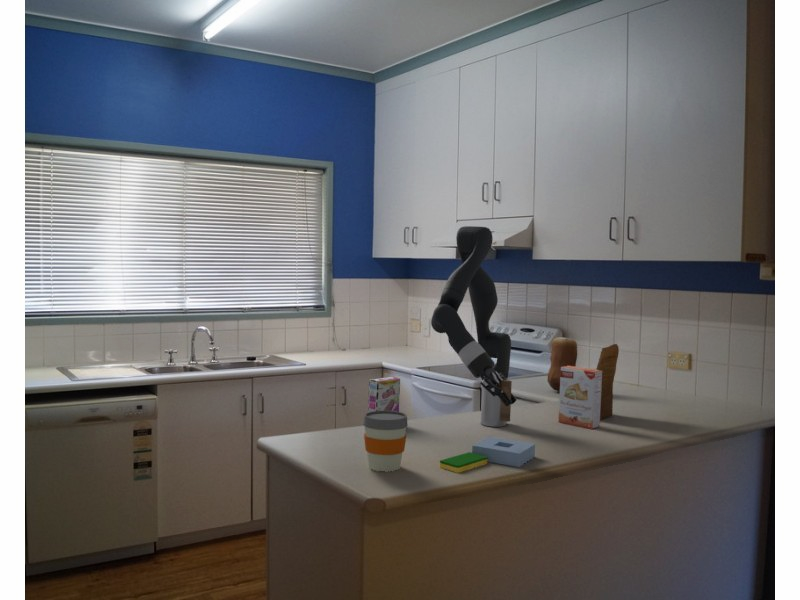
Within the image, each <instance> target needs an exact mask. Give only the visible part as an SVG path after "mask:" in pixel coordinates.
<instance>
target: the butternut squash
mask: <svg viewBox="0 0 800 600" xmlns="http://www.w3.org/2000/svg"><path fill="white" fill-rule="evenodd" d="M550 352H551V353H550V354H551V355H550V358H549V361H550V367H549V369H548V373H547V381H546V382H547V383H548V384H549V386H550V387H551V389H553V390H554V391H558V392H559V393H560V376H561V367H564V366H575V367H577V366H576V365H577V361H578V343H577V341H576V340H574V339H572V338H568V337H562V336H561V337H555V338H554V339H553V340H552V342H551V351H550Z"/></svg>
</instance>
